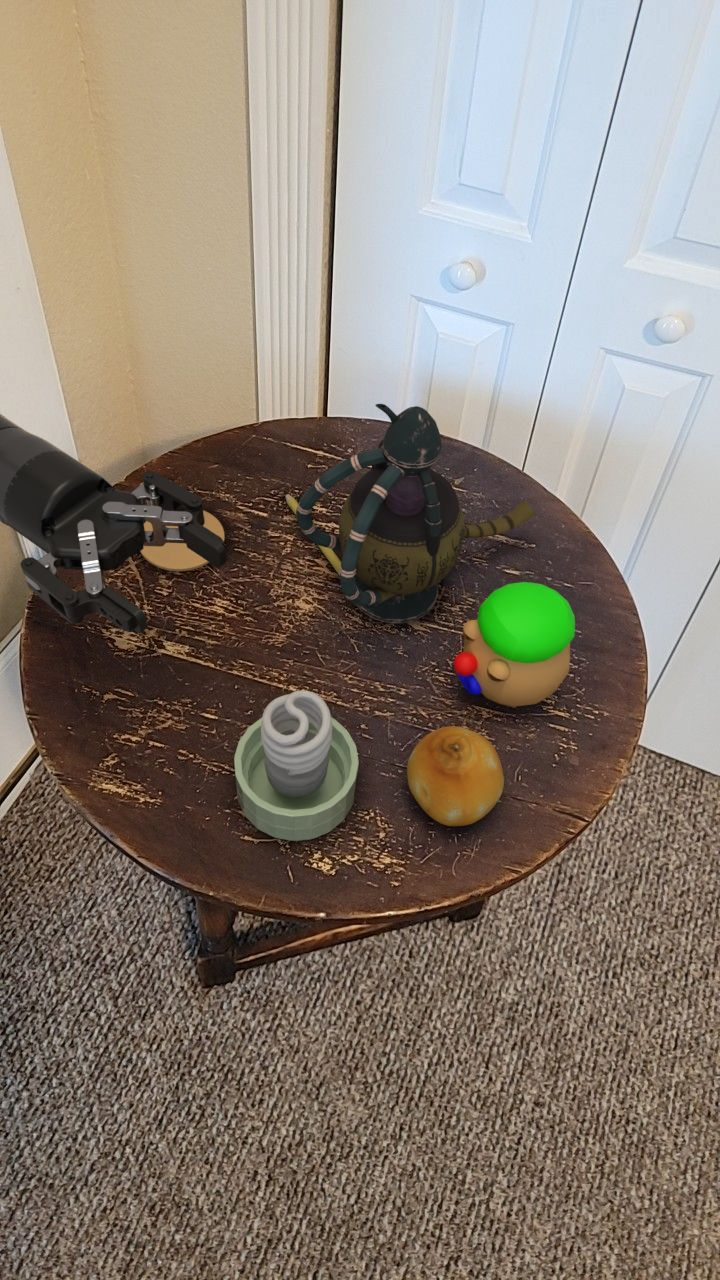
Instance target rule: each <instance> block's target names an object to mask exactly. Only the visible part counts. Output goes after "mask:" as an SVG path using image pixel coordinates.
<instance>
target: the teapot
mask: <svg viewBox="0 0 720 1280" xmlns="http://www.w3.org/2000/svg"><path fill="white" fill-rule="evenodd" d="M375 407H376V408H377V409H379V410H380V411H381V412H383V413H384V414H385V415H386V416H387V417H388V418H389V420H390V422H391V423H390V424H389V426H387V429H386V432H385V434H384V437H383V438H382V439H381V440H380V441H379V443H378V446H377V447H376V448H374V449H369V450H366V451H362V452H360V453H357V454H355V455H352V456H351V457H348V458H346V459H344V460H342V461H341V462H339V463H337V464H336V465H334V466H333V467H331V468H330V469H328V470H327V471H325V472H324V473H322V475H320V476H319V477H318V478H317V480H316V481H314V482H313V483H312V484H310V486H309V487H308V488H307V489H306V491H305V492H304V493H303V494H302V495H301V497H300V499H299V502H298V507H297V510H296V515H295V516H296V520H297V525H298V527H299V528H300V530H301V531H302V533H303V534H304V535H303V536H305V537H307V539H309V540H310V541H312V542H313V543H314V544H316V546H318V545H319V546H323V547H326V548H330V549H332V550H333V551H338V552H340V553H342V558H341V560H340V561H341V569H340V576H339V581H340V586H341V590H342V593H343V595H344V596H345V598H346V600H347V602H349V603H351V604H353V605H355V606H356V607H357V608H358V609H359V610H360V611H361V612H362V614H363V613H364V615H367V616H368V617H370V618H372V619H373V620H376V621H379V622H383V623H387V624H405V623H409V622H415V621H417V620H419V619H421V618H422V617H424V616H426V615H428V613H429V612H430V611H431V610H432V609H433V607H434V606H435V605H436V602H437V600H438V596H439V584H438V583H440V581H442V580H443V579H445V578H446V576H448V574H449V573H450V572H451V571H452V569H454V567H455V566H456V563H457V561H458V558H459V556H460V555H461V551H462V548H463V545H464V542H465V539H478V538H487V537H496V536H497V535H501V534H503V533H506V532H508V531H511V530H513V529H515V528H517V527H519V526H520V525H522V524H524V523H526V522H527V521H529V520H530V519H532V518H534V517H535V516H537V515H538V514H537V513H536V512H535V511H534V510H533V508H532V507H531V506H530V505H529V504H528V503H527V501H526V500H525V499H523V500H522V501H521V502H519V504H518V505H517V506H516V507H515V508H514V509H513V510H511V511H510V512H508V513H506V514H504V515H502V516H499V517H497V518H494V519H491V520H487V521H485V522H482V523H476V524H466V523H465V517H464V513H463V509H462V505H461V502H460V498H459V497H458V494H457V492H456V490H455V488H454V487H453V485H452V483H451V482H450V481H449V480H447V479H446V478H445V477H444V476H443V475H442V474H441V473H439V472H438V471H435V470H434V469H431V467H433V465H434V464H435V463H436V462H437V461H438V460H439V458H440V457H441V454H442V450H443V443H442V437H441V433H440V429H439V427H438V425H437V422H436V420H435V418H433V416H432V415H431V414H430V413H429V412H428V411H427V410H426V408H423V407H422V406H418V405H416V406H409V407H408V408H406V409H404V410H403V411H401V412H399V413H398V414H396V413H395V411H393V410H392V409H391V408H390V407H389V406H387V405H386V404H384V403H375ZM388 463H389V464H388ZM368 467H370V468H371V470H368V471H366V473H364V475H362V476H361V477H360V478H359V479H358V480H357V482H356V483H355V484H354V485H353V487H352V489H350V492H349V493H348V496H347V497H346V500H345V502H344V504H343V506H342V508H341V510H340V513H339V519H338V536H336V535H333V534H330V533H327V532H323V531H322V530H320V529H319V528H318V527H317V526H316V524H315V522H314V521H313V518H312V510H313V508H314V506H315V505H316V504H317V502H318V501H319V500H320V499H321V498H322V497H323V496H324V495H325V494H326V493H327V492H328V491H329V490H330V489H331V488H333V486H335V485H336V484H338V483H339V482H341V481H342V480H344V479H346V478H347V477H349V476H350V475H352V474H354V473H356V472H359V471H361V470H363V469H365V468H368ZM319 546H318V547H319Z"/></svg>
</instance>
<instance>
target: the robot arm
mask: <svg viewBox="0 0 720 1280" xmlns="http://www.w3.org/2000/svg"><path fill="white" fill-rule="evenodd" d="M203 510H204V501H203V498H202V497H201V496H199V495H197V494H196V493H194V492H192V491H190V490H188V489H186V488H185V487H183V486H181V485H180V484H178V483H175V482H174V481H172V480H171V479H168V478H166V477H164V476H163V475H161V474H159V473H157V472H156V471H154V470H147V471H144V473H143V474H142V484H140V485H139V486H137V487H136V488H135V489H134V490H133V491H132V492H129V491H124V490H119V489H117V488H115V487H114V486H113V485H112V484H111V483H110V482H109V481H107V479H106V478H104V477H103V476H102V475H100V474H98V473H97V472H96V471H94V470H93V469H91V468H90V467H88V466H87V465H86V464H83V463H81V461H79V460H77V459H75V458H74V457H72V456H71V455H69V454H68V453H66V452H65V451H63V450H61V449H60V448H59V447H58V446H56V445H54V444H53V443H51V442H49V441H48V440H46V439H44V438H43V437H40V436H38V435H36V434H33V433H31V432H29V431H27V430H25V429H23V428H22V427H21V426H19V425H17V424H16V423H15V422H13V421H12V420H10V419H9V418H7V417H6V416H4V415H3V414H1V413H0V522H1V524H3V525H6V526H8V527H10V528H11V529H13V530H14V531H15V532H16V533H18V534H19V535H21V536H22V537H24V538H25V539H27V540H28V541H29V542H31V543H32V544H33V545H35V546H36V547H37V548H39V549H40V550H42V551H43V552H44V553H46V554H45V555H43V556H41V557H40V558H39V559H36V558H35V557H32V556H29V557H25V558H23V559H22V560H21V562H20V568H21V570H22V573H23V576H24V578H25V581H26V584H27V587H28V588H29V589H30V590H31V591H32V592H33V593H34V594H36V595H37V596H38V597H39V598H40V599H41V600H42V601H44V602H45V603H46V604H47V605H48V606H50V607H51V609H53V610H54V611H55V612H57V613H58V614H59V615H60V616H61V617H62V618H63V619H65V620H66V621H67V622H68V623H70V624H73V625H77V624H80V623H82V622H83V621H84V619H85V617H86V616H89V615H91V614H95V615H96V614H97V615H101V616H102V617H104V618H105V619H107V620H108V621H109V622H110V623H112V624H114V626H116V627H118V628H119V629H120V630H121V631H123V632H127V633H132V632H133V631H134V632H136V633H137V634H142V633H143V632H144V631H146V630H147V629H148V628H149V627H148V621H147V617H146V614H145V612H144V611H143V610H142V609H141V608H140V607H139V606H138V605H135V604H134V603H133V602H131V601H130V600H129V599H127V598H125V597H124V596H123V595H122V594H120V593H119V592H117V591H116V590H114V589H113V588H112V587H110V586H108V587H107V585H106V579H105V573H104V572H107V571H111V570H113V571H117V570H119V568H120V567H122V566H123V565H124V563H125V562H126V561H127V560H128V559H129V558H132V557H133V556H136V555H137V554H139V553H141V552H140V551H141V550H142V549H144V547H143V546H158V547H161V546H164V545H165V543H186V545H187V548H189V549H190V550H192V551H193V552H195V553H196V554H198V555H199V556H201V557H202V558H204V559H205V560H207V561H208V562H210V564H211V565H213V566H214V567H215V568H218V569H220V568H222V567H223V566H224V565H225V564H226V563H227V560H228V559H227V550H226V545H225V540H224V541H223V540H222V538H221V537H219V536H218V535H216V534H215V533H213V532H211V531H210V530H208V529H207V528H205V527H204V526H203V525H204V524H205V519H204V514H203ZM146 521H148V522H150V523H151V524H152V527H153V531H145V528H144V523H145V522H146ZM166 526H178V528H167V527H166ZM58 568H59V569H63V570H73V571H74V570H75V571H83V575H84V576H83V577H84V586H85V589H82V590H79V591H75V590H73V589H72V587H70V586H69V585H68V584H67V583H65V582H64V581H63V580H62V579H60V576H59V574H58V573H59V572H58ZM106 587H107V588H106Z"/></svg>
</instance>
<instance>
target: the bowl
mask: <svg viewBox="0 0 720 1280" xmlns="http://www.w3.org/2000/svg"><path fill="white" fill-rule="evenodd" d="M290 720H295V721H296V722H297V723H299V724H300V721H299V719H290ZM331 722H332V741H331V745H330V748H329V751H328V755H329V763H328V769H327V774H326V777H325V780H324V783H323V784H322V785H321V787H320V788H319V789H318V790H317V791H315V792H314V793H312V794H310V795H308V796H305V797H299V798H294V797H287V796H285V795H283V794H281V793H279V792H277V791H276V790H275V789H274V788H273V787H272V786H271V784H270V783H269V781H268V778H267V774H266V770H265V767H264V756H265V751H264V747H263V744H262V741H261V723H262V717H260V718H259V719H257V720H256V721H255V722H254V723H252V724H251V725H250V726H249V727H248V728H247V729H246V731H245V732H244V733H243V735H242V736H241V738H240V739H239V741H238V743H237V747H236V750H235V753H234V757H233V762H234V763H233V765H234V775H235V786H236V797H237V802H238V804H239V806H240V808H241V810H242V813H243V815H244V817H245V818H246V819H247V820H248V821H249V822H250V823H251V824H252V826H254V827H255V828H256V829H257V830H259V831H261V832H263V833H265V834H266V835H269V836H271V837H273V838H275V839H280V840H286V841H290V842H296V841H298V842H299V841H307V840H312V839H313V840H314V839H316V838H318V837H321V836H323V835H325V834H328V833H329V832H332V831H333V830H334V829H335V828H336V827H337V826H339V825H340V824H341V823H342V822H343V821H344V820H345V819H346V817H347V815H348V814H349V812H350V811H351V809H352V807H353V805H354V802H355V796H356V793H357V792H356V791H357V784H358V774H359V767H360V766H359V765H360V762H359V761H360V760H359V755H358V750H357V745H356V742H355V741H354V740H353V738H352V736H351V734H350V732H349V731H348V730H347V728H345V727H344V726H343V725H342V724H341V723H340V722H339V721H338V720H336V719H335V718H334V717H332V716H331ZM286 730H290V729H285V730H282V731H280V732H279V733H281V732H283V731H286ZM308 731H310V732H312V733H314V734H316V735H317V734H318V731H317V730H316V728H315V727H314V726H313V725H311V724H310V723H309V725H308Z"/></svg>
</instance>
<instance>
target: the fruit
mask: <svg viewBox="0 0 720 1280" xmlns="http://www.w3.org/2000/svg"><path fill="white" fill-rule="evenodd" d="M406 766H407V767H406V777H407V778H406V779H407V784H408V788H409V790H410V793H411V795H412V796H413V798H414V799H415V801H416V802H417V804H418V805H419V807H420V808H421V809H422V810H423V811H424V812H425V813H426V814H427V815H428V816H429V818H431V819H432V820H434V821H436V822H438V823H439V824H441V825H444V826H447V827H462V826H469V825H472V824H474V823H476V822H478V821H479V820H482V819H483V818H484V817H486V815H487V814H488V813H490V812H491V811H492V809H493V808H494V807H495V806H496V804H497V803H498V802H499V800H500V798H501V796H502V794H503V790H504V787H505V786H504V784H505V777H504V776H505V775H504V771H503V767H502V762H501V759H500V757H499V755H498V752H497V750H496V748H495V747H494V745H493V744H492V742H491V741H490V740H489V739H487V738H486V737H485V736H483V735H481V734H480V733H478V732H476V731H473V730H471V729H468V728H466V727H463V726H458V725H450V726H443V727H440V728H438V729H435V730H433V731H431V732H429V733H427V734H426V735H425V736H424V737H423V738H422V739H420V741H419V742H418V743H417V744H416V746H415V747H414V748H413V750H412V751H411V753H410V755H409V758H408V760H407V765H406Z"/></svg>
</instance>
